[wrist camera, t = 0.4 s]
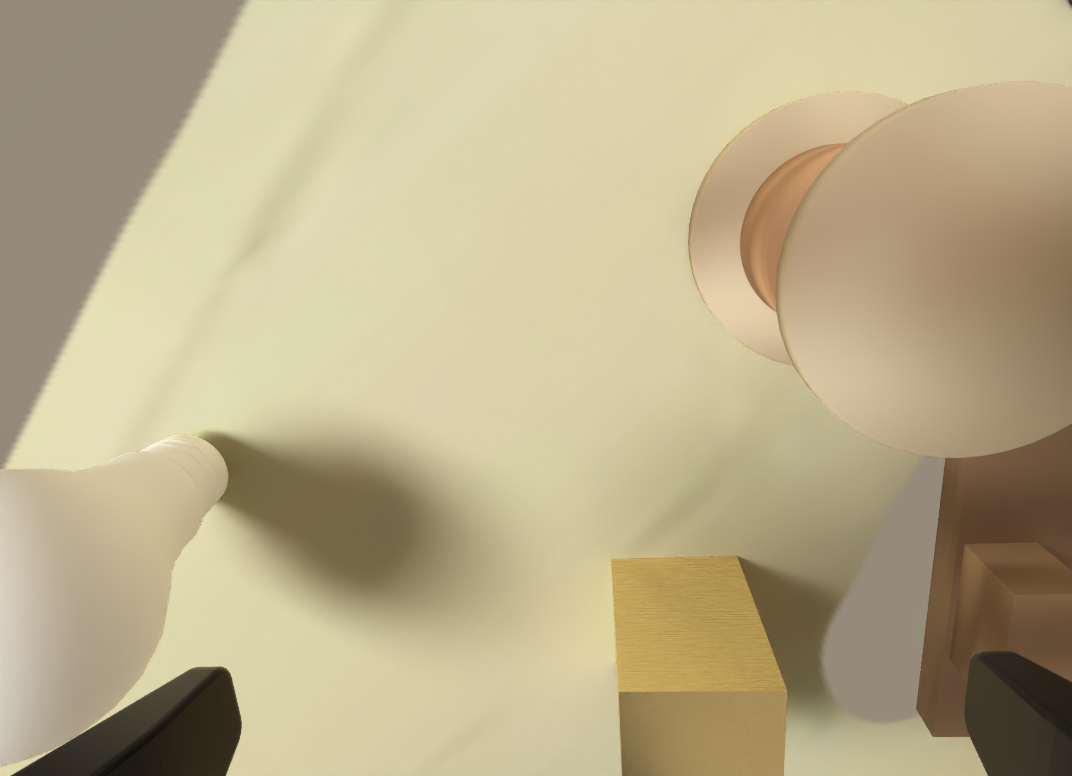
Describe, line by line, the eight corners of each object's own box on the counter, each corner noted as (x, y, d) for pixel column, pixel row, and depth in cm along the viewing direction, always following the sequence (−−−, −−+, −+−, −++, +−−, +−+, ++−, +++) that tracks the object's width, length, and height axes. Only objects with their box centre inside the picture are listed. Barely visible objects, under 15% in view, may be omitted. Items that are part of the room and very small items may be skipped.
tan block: (735, 660, 24) (781, 818, 18) (615, 661, 24) (623, 817, 18) (736, 555, 22) (787, 690, 17) (611, 558, 23) (618, 691, 17)
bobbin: (939, 351, 20) (1171, 477, 12) (688, 363, 20) (751, 490, 13) (968, 83, 18) (1274, 21, 10) (687, 106, 18) (762, 65, 10)
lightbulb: (75, 407, 22) (-375, 623, 12) (238, 342, 21) (-100, 518, 11) (171, 565, 24) (-153, 877, 13) (327, 512, 23) (106, 808, 12)
